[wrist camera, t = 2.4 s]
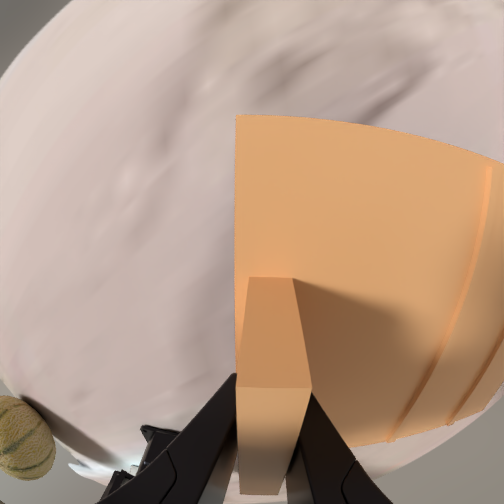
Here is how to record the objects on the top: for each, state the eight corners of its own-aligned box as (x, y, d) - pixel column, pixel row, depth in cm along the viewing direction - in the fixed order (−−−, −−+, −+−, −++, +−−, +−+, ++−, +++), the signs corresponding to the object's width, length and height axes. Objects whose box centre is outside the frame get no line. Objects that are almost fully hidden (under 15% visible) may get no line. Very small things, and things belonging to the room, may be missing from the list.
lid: (475, 397, 12) (503, 448, 7) (240, 431, 13) (232, 516, 8) (552, 191, 7) (618, 220, 2) (240, 121, 7) (199, 68, 2)
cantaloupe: (44, 433, 31) (15, 482, 17) (-5, 377, 27) (-44, 426, 13) (84, 445, 28) (51, 510, 14) (22, 379, 24) (-29, 446, 10)
